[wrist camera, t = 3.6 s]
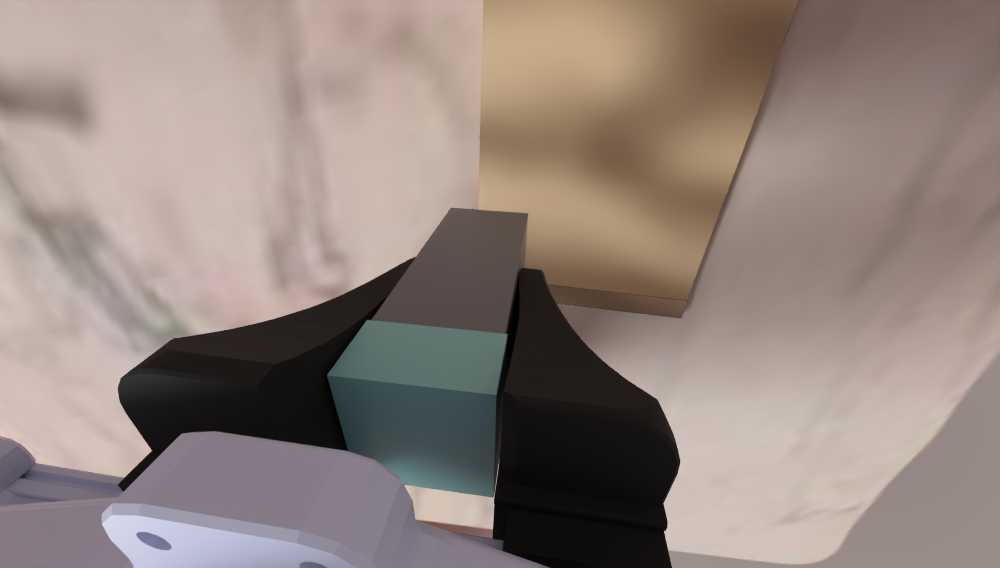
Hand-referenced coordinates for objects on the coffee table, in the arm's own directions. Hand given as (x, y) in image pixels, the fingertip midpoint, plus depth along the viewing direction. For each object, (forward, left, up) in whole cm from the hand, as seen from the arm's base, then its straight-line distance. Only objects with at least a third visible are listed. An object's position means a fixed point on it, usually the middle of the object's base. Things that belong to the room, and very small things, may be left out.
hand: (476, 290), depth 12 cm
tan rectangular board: (+2, -4, -9) cm, 11 cm away
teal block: (0, 0, -3) cm, 3 cm away
